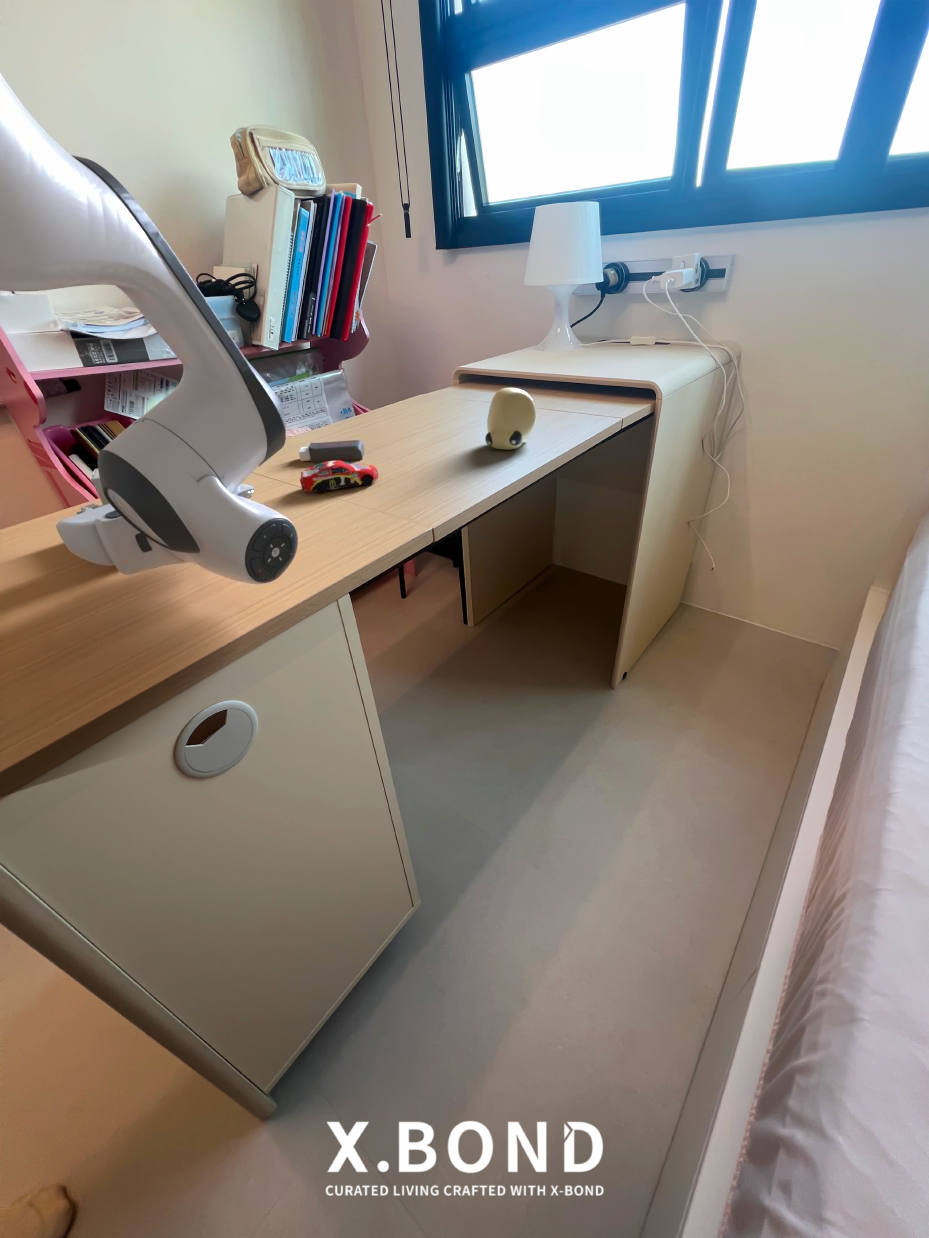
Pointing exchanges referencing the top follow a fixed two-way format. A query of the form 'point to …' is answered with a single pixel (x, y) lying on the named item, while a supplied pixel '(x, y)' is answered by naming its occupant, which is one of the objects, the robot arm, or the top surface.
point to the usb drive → (332, 451)
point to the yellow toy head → (510, 419)
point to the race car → (337, 476)
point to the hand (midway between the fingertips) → (127, 498)
